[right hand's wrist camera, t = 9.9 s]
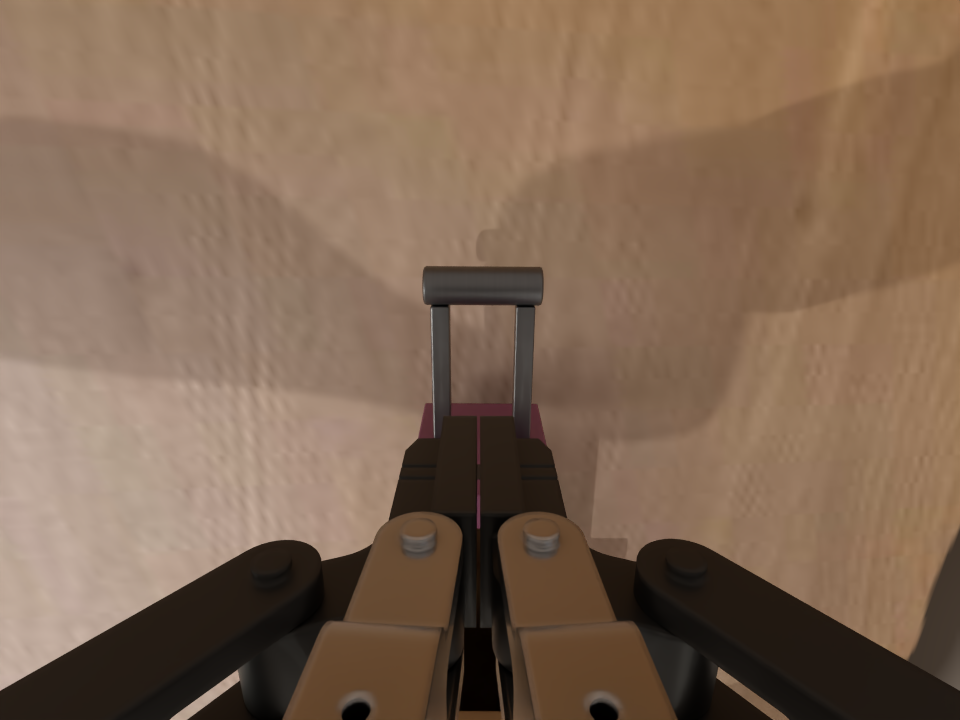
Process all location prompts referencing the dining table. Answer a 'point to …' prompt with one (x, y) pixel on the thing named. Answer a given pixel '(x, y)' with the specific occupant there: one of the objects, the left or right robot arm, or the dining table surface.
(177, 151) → the dining table surface
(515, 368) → the drawer
